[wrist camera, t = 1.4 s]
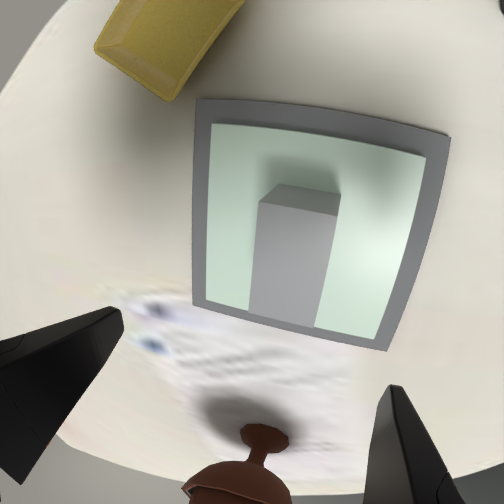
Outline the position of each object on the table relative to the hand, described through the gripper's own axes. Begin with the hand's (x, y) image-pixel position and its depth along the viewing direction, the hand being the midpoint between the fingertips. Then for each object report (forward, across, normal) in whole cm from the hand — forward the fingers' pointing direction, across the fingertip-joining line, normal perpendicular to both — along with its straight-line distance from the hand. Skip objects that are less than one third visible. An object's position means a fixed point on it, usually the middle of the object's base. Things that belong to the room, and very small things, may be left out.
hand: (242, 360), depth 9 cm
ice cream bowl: (+12, 0, +24) cm, 27 cm away
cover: (+11, 0, 0) cm, 11 cm away
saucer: (+12, +10, -13) cm, 20 cm away
